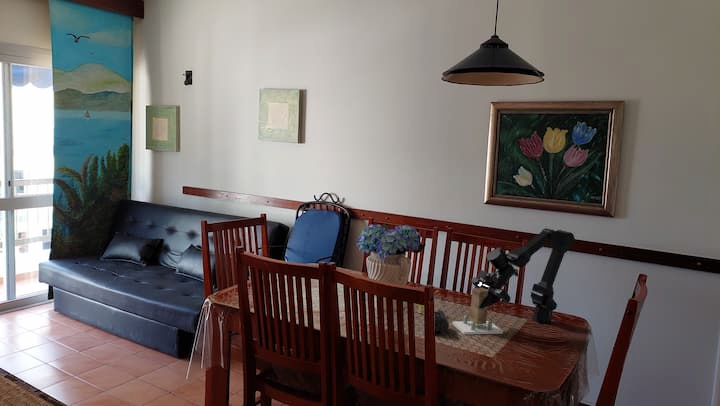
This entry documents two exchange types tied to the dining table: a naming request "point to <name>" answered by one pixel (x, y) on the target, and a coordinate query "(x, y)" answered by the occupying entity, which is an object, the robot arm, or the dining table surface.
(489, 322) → the plate
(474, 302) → the walnut post
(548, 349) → the dining table surface
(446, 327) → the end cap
